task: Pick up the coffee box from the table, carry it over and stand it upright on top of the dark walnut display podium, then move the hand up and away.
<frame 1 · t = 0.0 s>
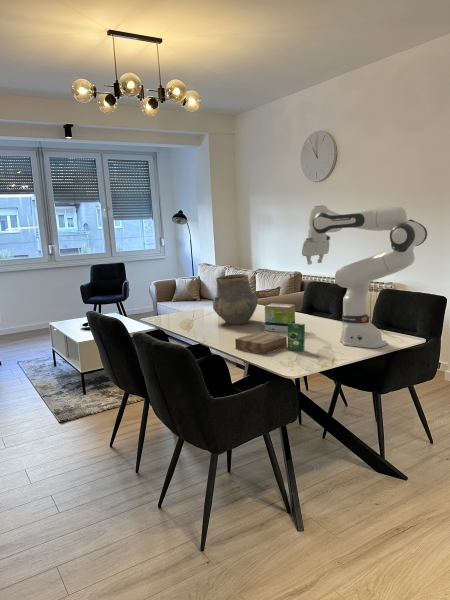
hand: (314, 263, 240), 39 cm above the table, fingers open, 8 cm apart
display podium: (261, 347, 226), on the table
ceramic pot: (236, 322, 288), on the table
coffee box: (296, 350, 218), on the table
tea box: (280, 330, 262), on the table
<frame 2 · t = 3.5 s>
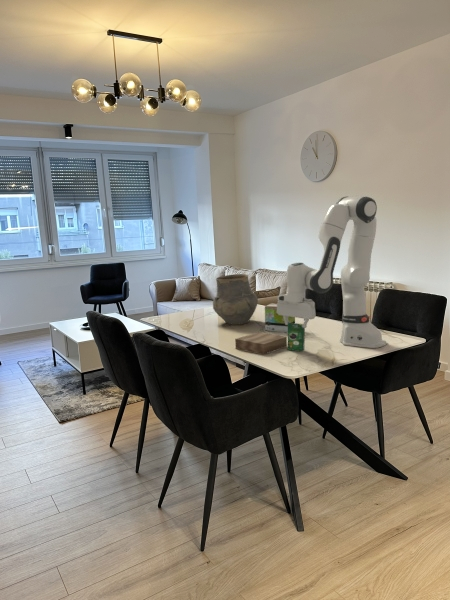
hand: (295, 326, 216), 12 cm above the table, fingers open, 8 cm apart
nothing on the table moved.
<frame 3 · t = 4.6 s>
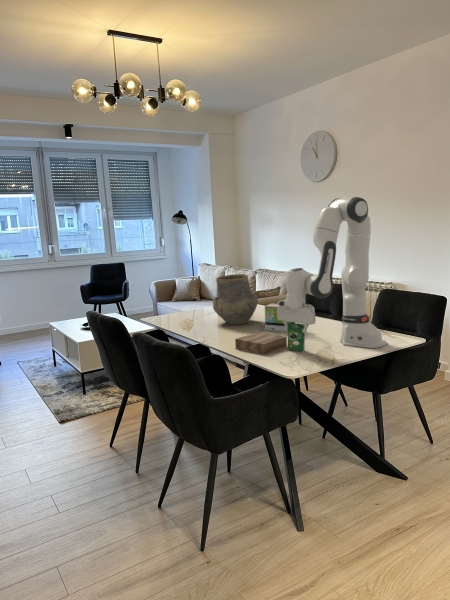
hand: (296, 331, 217), 9 cm above the table, fingers open, 8 cm apart
coffee box: (296, 350, 218), on the table, touching gripper
everything else where it was.
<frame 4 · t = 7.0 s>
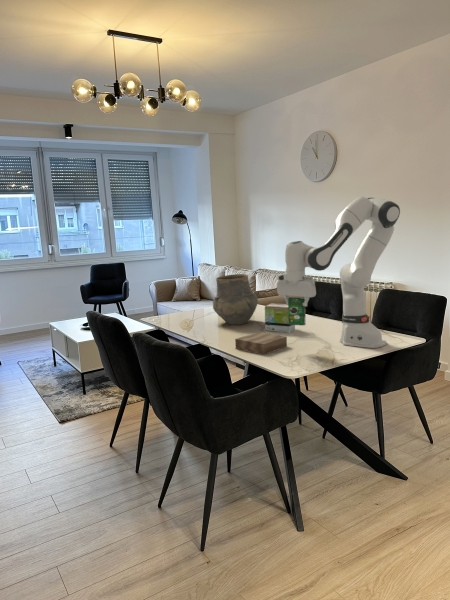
hand: (296, 305, 215), 22 cm above the table, fingers closed on coffee box, 8 cm apart
coffee box: (297, 325, 216), point 12 cm above the table, touching gripper
everything else where it was.
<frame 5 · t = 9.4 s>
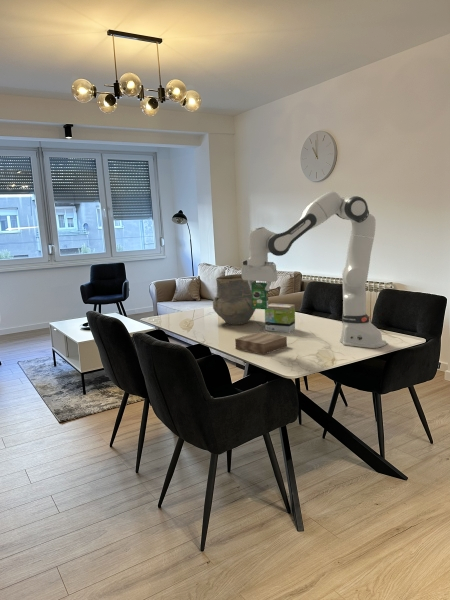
hand: (259, 290, 221), 29 cm above the table, fingers closed on coffee box, 8 cm apart
coffee box: (260, 309, 223), point 19 cm above the table, touching gripper
everything else where it was.
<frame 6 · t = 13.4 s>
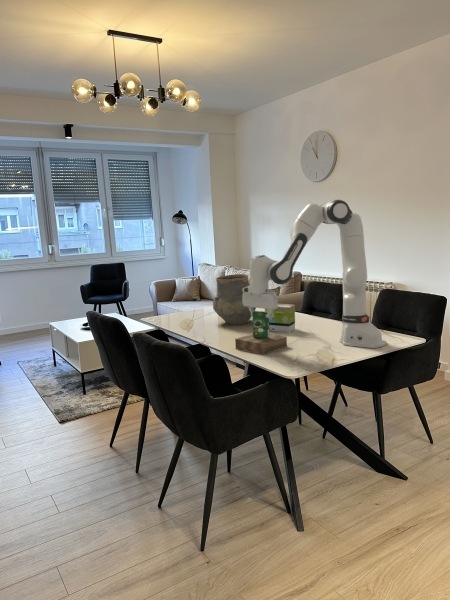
hand: (260, 316, 224), 16 cm above the table, fingers closed on coffee box, 8 cm apart
coffee box: (261, 337, 225), point 5 cm above the table, touching display podium, gripper
everything else where it was.
when the fingers open (16 cm above the table, at t = 13.7 s): coffee box stays where it is, resting on display podium.
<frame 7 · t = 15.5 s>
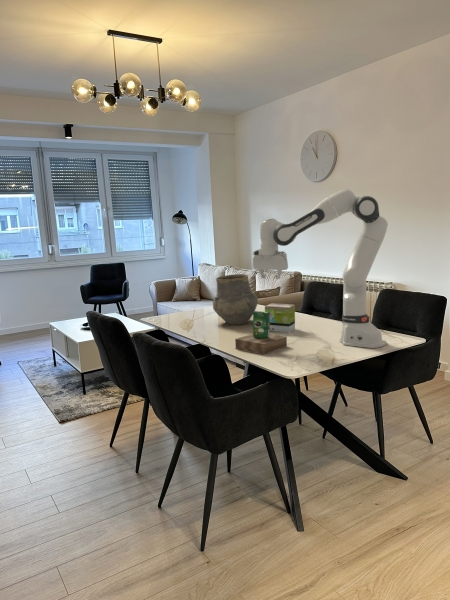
hand: (270, 278, 233), 33 cm above the table, fingers open, 8 cm apart
coffee box: (261, 338, 225), point 5 cm above the table, touching display podium
everything else where it was.
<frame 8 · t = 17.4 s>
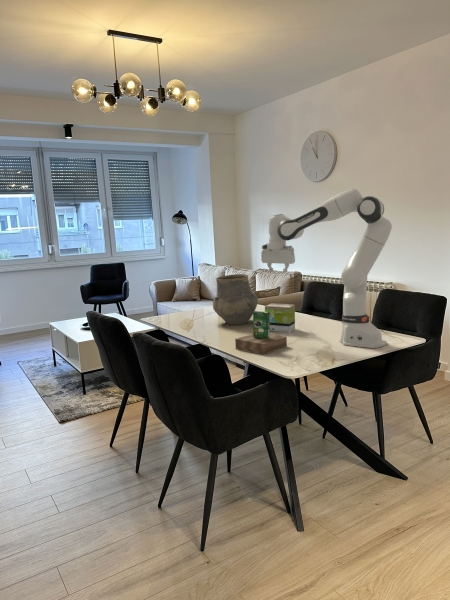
hand: (278, 271, 242), 35 cm above the table, fingers open, 8 cm apart
nothing on the table moved.
at the end: coffee box inside the target area on the display podium (0.4 cm from its centre), point 4.8 cm above the display podium's base; coffee box tilted 0°; the gripper is holding nothing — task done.
